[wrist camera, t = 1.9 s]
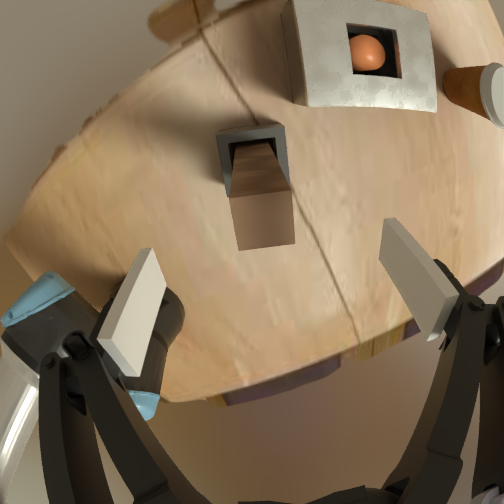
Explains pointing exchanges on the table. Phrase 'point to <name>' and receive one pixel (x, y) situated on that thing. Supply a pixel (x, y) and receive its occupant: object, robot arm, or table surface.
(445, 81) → the disposable coffee cup
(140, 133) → the table surface
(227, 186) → the gray square socket
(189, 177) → the table surface
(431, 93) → the box
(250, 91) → the table surface
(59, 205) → the table surface
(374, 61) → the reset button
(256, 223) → the brown wooden bar
